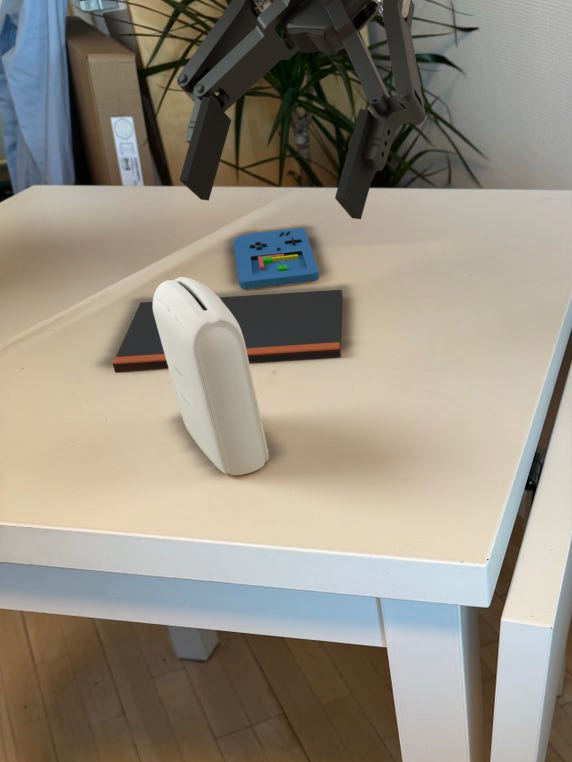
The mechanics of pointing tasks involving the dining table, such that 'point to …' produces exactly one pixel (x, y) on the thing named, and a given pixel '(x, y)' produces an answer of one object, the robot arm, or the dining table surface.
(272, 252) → the handheld gaming device
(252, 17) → the robot arm
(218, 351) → the photo printer
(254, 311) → the mat
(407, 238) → the dining table surface
